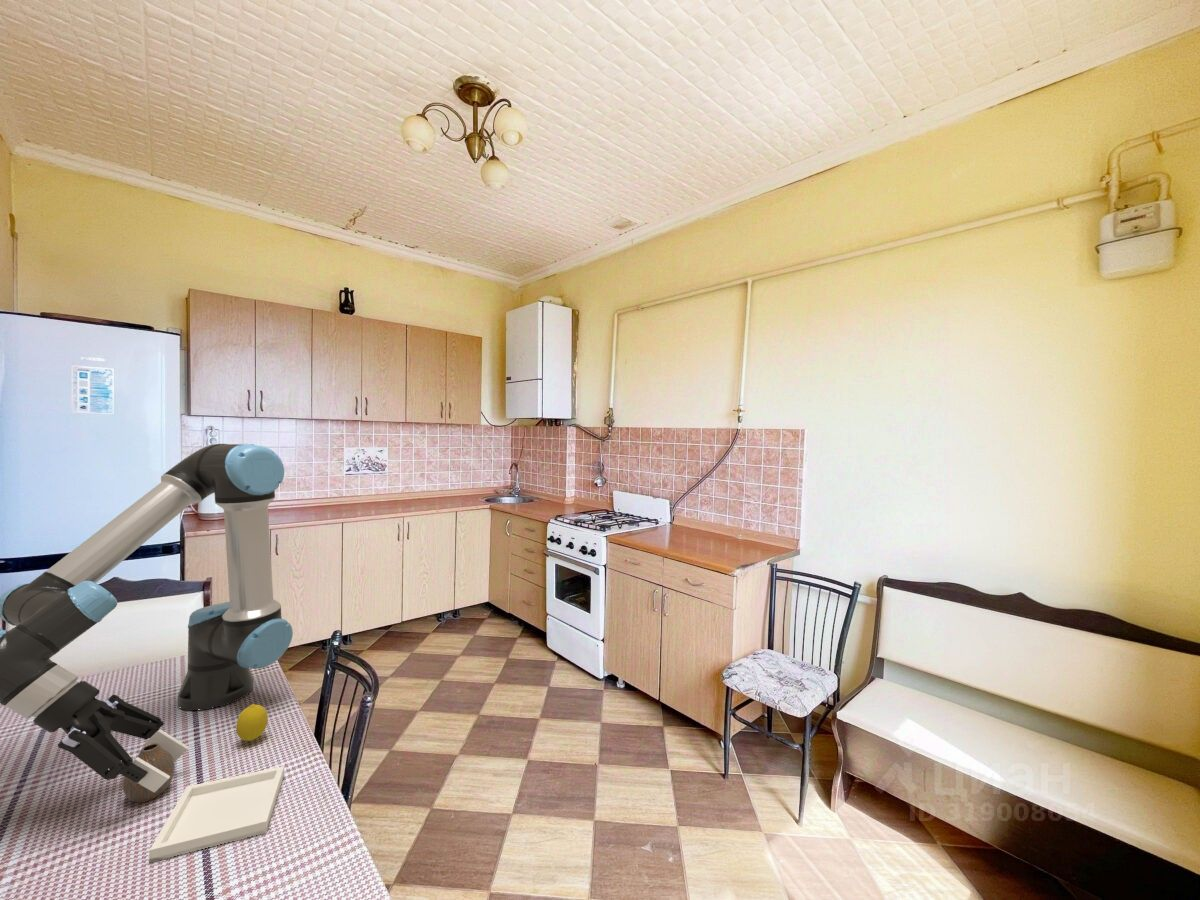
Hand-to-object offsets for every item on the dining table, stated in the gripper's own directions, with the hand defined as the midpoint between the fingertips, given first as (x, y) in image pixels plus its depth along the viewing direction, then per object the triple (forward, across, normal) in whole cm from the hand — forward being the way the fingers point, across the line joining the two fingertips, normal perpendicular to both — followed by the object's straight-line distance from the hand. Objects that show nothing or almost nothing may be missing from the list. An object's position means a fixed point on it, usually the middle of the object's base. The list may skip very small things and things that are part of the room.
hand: (172, 768), depth 89 cm
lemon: (+10, -12, +4) cm, 16 cm away
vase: (+1, 0, -5) cm, 5 cm away
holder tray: (+10, +11, +5) cm, 16 cm away
